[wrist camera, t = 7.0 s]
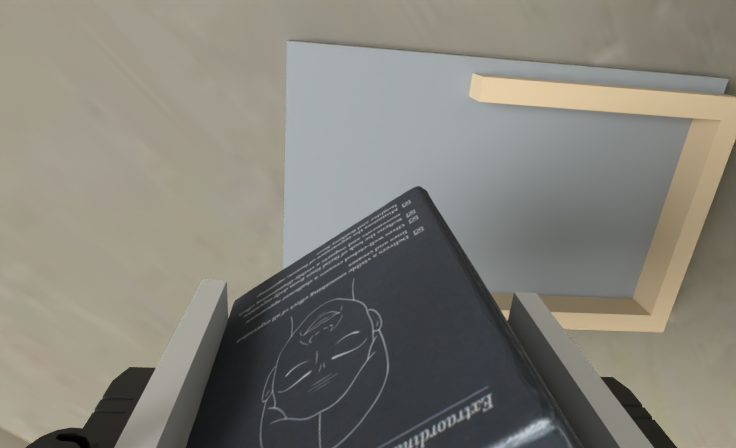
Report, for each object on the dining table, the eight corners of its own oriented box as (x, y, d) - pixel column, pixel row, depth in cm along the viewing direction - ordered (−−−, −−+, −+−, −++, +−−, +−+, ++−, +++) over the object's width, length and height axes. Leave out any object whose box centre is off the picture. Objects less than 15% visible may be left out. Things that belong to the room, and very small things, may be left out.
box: (323, 397, 19) (312, 789, 9) (232, 296, 17) (94, 658, 7) (498, 299, 18) (697, 630, 8) (421, 177, 16) (562, 420, 6)
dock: (284, 300, 31) (278, 331, 28) (289, 40, 25) (283, 42, 22) (629, 312, 34) (660, 343, 30) (709, 76, 28) (758, 82, 24)
